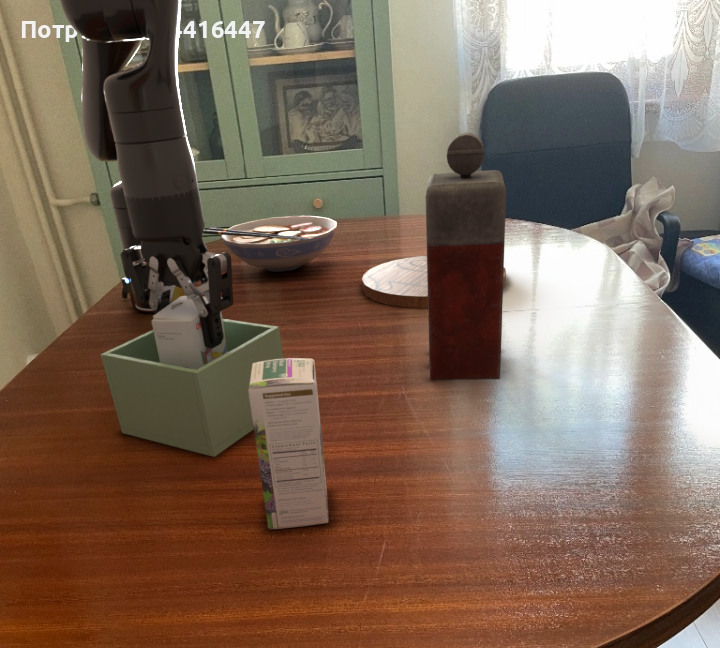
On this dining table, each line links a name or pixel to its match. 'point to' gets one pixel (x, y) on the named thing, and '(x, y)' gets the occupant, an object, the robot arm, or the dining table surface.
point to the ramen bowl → (278, 240)
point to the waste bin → (189, 389)
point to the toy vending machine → (465, 265)
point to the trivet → (400, 282)
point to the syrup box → (289, 441)
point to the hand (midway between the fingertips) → (192, 341)
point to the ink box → (183, 336)
